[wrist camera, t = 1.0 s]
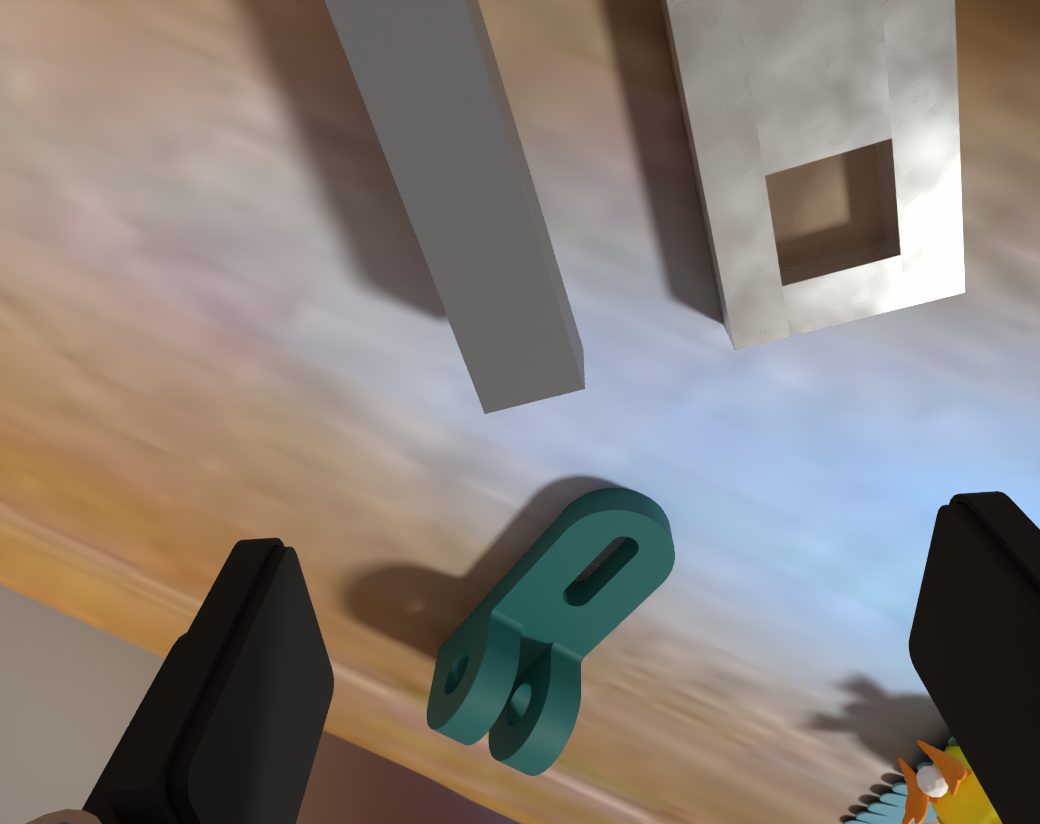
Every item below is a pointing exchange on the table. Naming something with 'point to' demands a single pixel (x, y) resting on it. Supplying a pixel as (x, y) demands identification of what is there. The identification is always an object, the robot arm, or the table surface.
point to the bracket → (548, 629)
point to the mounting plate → (821, 156)
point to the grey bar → (466, 191)
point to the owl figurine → (934, 793)
